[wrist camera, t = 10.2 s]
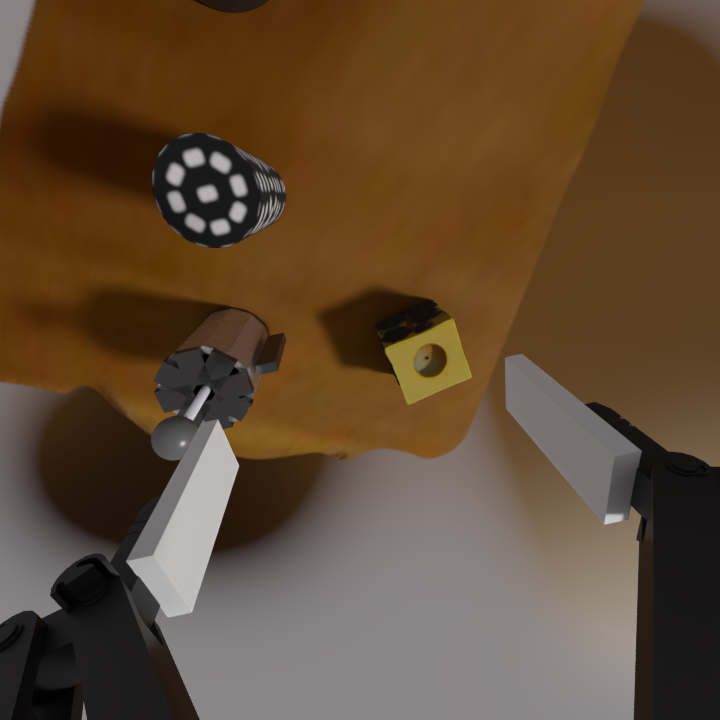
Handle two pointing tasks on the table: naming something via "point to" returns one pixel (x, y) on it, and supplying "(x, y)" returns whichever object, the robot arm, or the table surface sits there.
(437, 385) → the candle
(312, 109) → the table surface
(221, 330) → the grey cylinder
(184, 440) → the grey ball-topped rod
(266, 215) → the spotted tube
